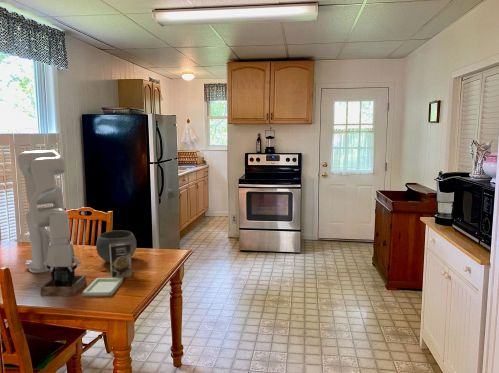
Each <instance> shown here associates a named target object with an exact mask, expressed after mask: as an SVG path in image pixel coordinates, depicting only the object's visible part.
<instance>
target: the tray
mask: <svg viewBox="0 0 499 373" xmlns="http://www.w3.org/2000/svg"><path fill="white" fill-rule="evenodd" d="M123 282H124V278H112V277H96V278H95V279H94V280H93V281H92V282H91V283H90V284H89V285H88V286H87V287H86V288H85V289H84V290H83V291H82V293H81V294H82V297H112V295H113V294H114V293H115V292H116V290H118V288H119V287H120V286H121V284H122V283H123Z"/></svg>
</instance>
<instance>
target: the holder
mask: <svg viewBox="0 0 499 373" xmlns="http://www.w3.org/2000/svg"><path fill="white" fill-rule="evenodd" d="M86 284H87V276H86V274H82V275H81V274H77V275H76V274H75V277H74V278H73V279H72V286H71V287H55V280H52V278H50V279H49V280H48V281H47V282H46V283H44V284H43V285H41V287H39V288H40V289H39V290H40V291H39V292H40V297H74V296H75V295H76V294H77V293H79V292H80V290H81V289H83V287H84V286H85V285H86Z"/></svg>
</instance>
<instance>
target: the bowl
mask: <svg viewBox="0 0 499 373" xmlns="http://www.w3.org/2000/svg"><path fill="white" fill-rule="evenodd" d="M127 241H128V242H129V243H130V247H131V258H132V257H133V256H134V254H135V252H136V251H137V244H138V243H137V239H136V237H135V234H133V232H132V231H129V230H110V231H105V232H103V233H101V234H100V235H99V236H98V237H97V240H96V243H95V244H96V245H95V247H96V248H95V249H96V253H97V255H98V256H99V257H100V258H101V259H102V261H104V262H108V263H110V248H109V244H111V243H119V242H127Z"/></svg>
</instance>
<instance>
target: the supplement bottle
mask: <svg viewBox="0 0 499 373" xmlns="http://www.w3.org/2000/svg"><path fill="white" fill-rule="evenodd" d="M69 272H70V270H69V268H68V267H56V268H55V270H54V279H55V287H71V286H72V285H73V284H72V280H69Z"/></svg>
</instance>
